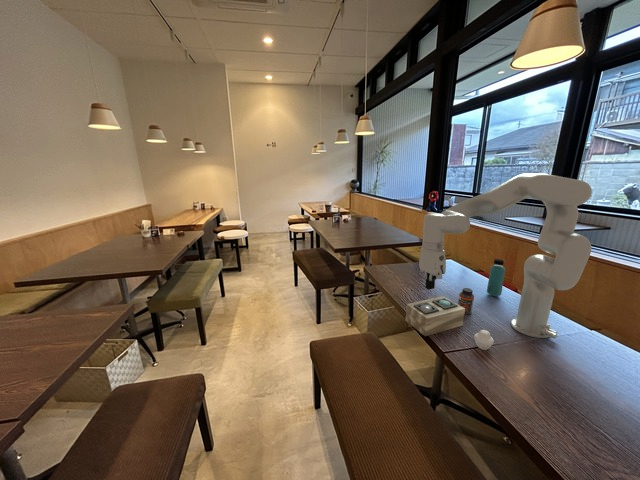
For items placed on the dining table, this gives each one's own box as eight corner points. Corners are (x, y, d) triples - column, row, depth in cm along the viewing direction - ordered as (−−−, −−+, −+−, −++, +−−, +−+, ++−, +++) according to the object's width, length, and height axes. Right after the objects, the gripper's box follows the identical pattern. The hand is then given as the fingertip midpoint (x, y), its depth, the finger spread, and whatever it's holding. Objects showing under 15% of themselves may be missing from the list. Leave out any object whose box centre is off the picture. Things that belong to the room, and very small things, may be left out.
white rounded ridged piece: (470, 346, 96) (472, 330, 94) (476, 339, 100) (479, 323, 98) (488, 355, 92) (491, 338, 90) (494, 347, 95) (497, 331, 94)
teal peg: (450, 320, 112) (452, 303, 110) (442, 322, 110) (444, 305, 108) (442, 315, 116) (444, 299, 114) (435, 317, 114) (436, 301, 112)
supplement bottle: (456, 313, 119) (459, 290, 116) (457, 307, 124) (460, 285, 121) (471, 316, 116) (475, 293, 113) (471, 310, 121) (474, 288, 118)
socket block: (462, 325, 109) (465, 307, 107) (425, 336, 103) (427, 317, 100) (440, 311, 120) (442, 294, 118) (405, 320, 113) (406, 303, 111)
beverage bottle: (503, 297, 133) (510, 260, 127) (494, 299, 130) (501, 262, 125) (491, 292, 138) (497, 256, 133) (482, 294, 136) (488, 258, 131)
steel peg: (432, 325, 108) (434, 308, 106) (424, 327, 107) (425, 310, 105) (424, 320, 112) (426, 303, 110) (416, 322, 111) (418, 305, 109)
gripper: (455, 248, 95) (451, 294, 100) (426, 239, 109) (424, 280, 113) (439, 251, 93) (436, 298, 97) (411, 242, 106) (410, 283, 111)
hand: (429, 288), depth 105 cm, fingers closed
